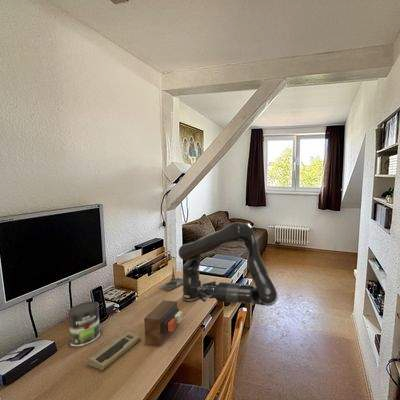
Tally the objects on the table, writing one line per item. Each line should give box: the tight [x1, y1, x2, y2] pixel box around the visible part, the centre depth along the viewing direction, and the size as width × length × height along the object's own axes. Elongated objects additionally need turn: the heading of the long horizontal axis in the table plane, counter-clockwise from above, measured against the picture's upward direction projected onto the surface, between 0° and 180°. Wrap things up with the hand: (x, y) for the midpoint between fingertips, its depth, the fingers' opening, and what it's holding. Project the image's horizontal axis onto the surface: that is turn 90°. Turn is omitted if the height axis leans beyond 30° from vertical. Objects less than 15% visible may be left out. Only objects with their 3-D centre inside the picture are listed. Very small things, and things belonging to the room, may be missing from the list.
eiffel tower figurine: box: [158, 266, 183, 291], centre depth 146 cm, size 15×10×13 cm
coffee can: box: [67, 301, 101, 347], centre depth 96 cm, size 10×10×14 cm
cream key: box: [174, 310, 184, 324], centre depth 101 cm, size 2×4×4 cm, turn 173°
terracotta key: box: [168, 318, 178, 333], centre depth 96 cm, size 2×4×4 cm, turn 173°
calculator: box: [90, 300, 126, 316], centre depth 120 cm, size 11×4×15 cm
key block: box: [143, 299, 180, 347], centre depth 99 cm, size 9×14×12 cm, turn 173°
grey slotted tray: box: [87, 331, 140, 371], centre depth 89 cm, size 16×8×3 cm, turn 163°
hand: (190, 289), depth 93 cm, fingers closed
